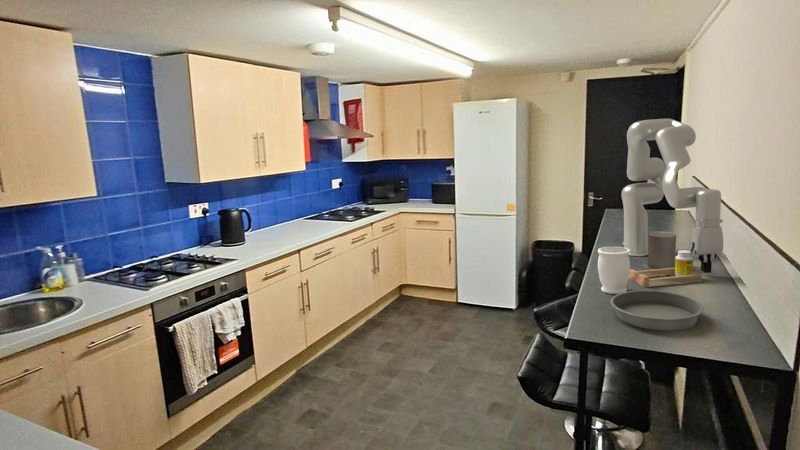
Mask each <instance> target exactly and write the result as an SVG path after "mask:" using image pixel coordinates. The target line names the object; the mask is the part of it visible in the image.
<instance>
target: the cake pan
mask: <svg viewBox="0 0 800 450" xmlns="http://www.w3.org/2000/svg"><path fill="white" fill-rule="evenodd" d="M610 304H611V306H612V308H614V309H615V313H616V316H617V318H618V319H619V320H621V321H622V322H624V323H627V324H629V325H631V326H634V327H638V328H642V329H647V330H654V331H680V330H681V331H682V330H686V329H689V328H692V327H694V326H696V324H697V323H698V319H699V316H700V315H702V313H703V312H704V311H705V310H704V309H705V307H704V306H703V304H702V303H701V302H699V301H698V300H696V299H694V298H693V297H689V296H687V295H684V294H680V293H677V292H671V291H665V290H664V291H663V290H654V289H650V290H649V289H648V290H647V289H641V290H639V289H638V290H631V291H629V290H627V291H626V292H623V293H620V294H614V296H612V297H611V298H610Z"/></svg>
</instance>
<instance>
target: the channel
mask: <svg viewBox="0 0 800 450" xmlns="http://www.w3.org/2000/svg"><path fill="white" fill-rule="evenodd" d="M666 275H670V276H666ZM657 276H659V277H657ZM628 280H631V281H633V282H634V283H636V284H638V285H640V286H642V287H643V288H652V287H661V286H670V285H671V286H673V285H682V284H693V283H694V284H695V283H703V274H699V273H698V274H697V273H696V274H692V275H684V276H675V267H674V268H664V269H654V268H652V269H645V270H634V269H633V268H630V273H629V278H628Z"/></svg>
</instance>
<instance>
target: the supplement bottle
mask: <svg viewBox="0 0 800 450" xmlns="http://www.w3.org/2000/svg"><path fill="white" fill-rule="evenodd" d="M691 255H692V252H690V250H683V249H682V250H681V249H680V250H678V251H677V255H675V275H674V276H684V275H693V272H694V269H693V268H694V257H692V256H691Z"/></svg>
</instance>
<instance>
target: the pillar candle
mask: <svg viewBox="0 0 800 450" xmlns="http://www.w3.org/2000/svg"><path fill="white" fill-rule="evenodd" d="M676 242H677V233H675V232H673V231H672V232H671V231H664V230H661V231H660V230H659V231H650V232H649V233H648V246H647V249H648V255H647V257H648V259H647V260H648V263H647V267H648V266H649V267H648V268H651V269H654V268H655V269H664V268H674V267H675V257H676V251H677V250H676V246H677V245H676Z"/></svg>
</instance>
